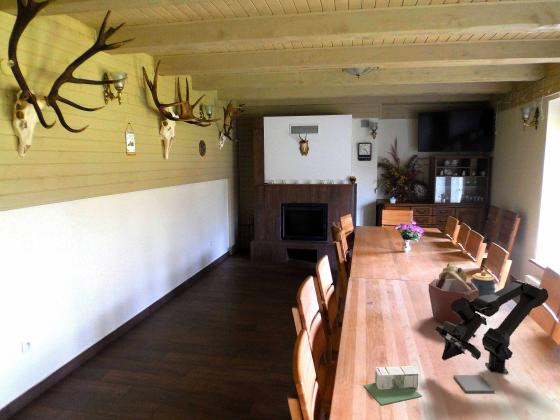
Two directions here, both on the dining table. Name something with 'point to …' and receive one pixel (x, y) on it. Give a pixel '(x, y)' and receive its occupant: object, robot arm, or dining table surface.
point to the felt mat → (391, 394)
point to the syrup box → (396, 377)
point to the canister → (484, 283)
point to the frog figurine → (456, 270)
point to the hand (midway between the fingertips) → (442, 359)
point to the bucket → (449, 296)
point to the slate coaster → (473, 384)
